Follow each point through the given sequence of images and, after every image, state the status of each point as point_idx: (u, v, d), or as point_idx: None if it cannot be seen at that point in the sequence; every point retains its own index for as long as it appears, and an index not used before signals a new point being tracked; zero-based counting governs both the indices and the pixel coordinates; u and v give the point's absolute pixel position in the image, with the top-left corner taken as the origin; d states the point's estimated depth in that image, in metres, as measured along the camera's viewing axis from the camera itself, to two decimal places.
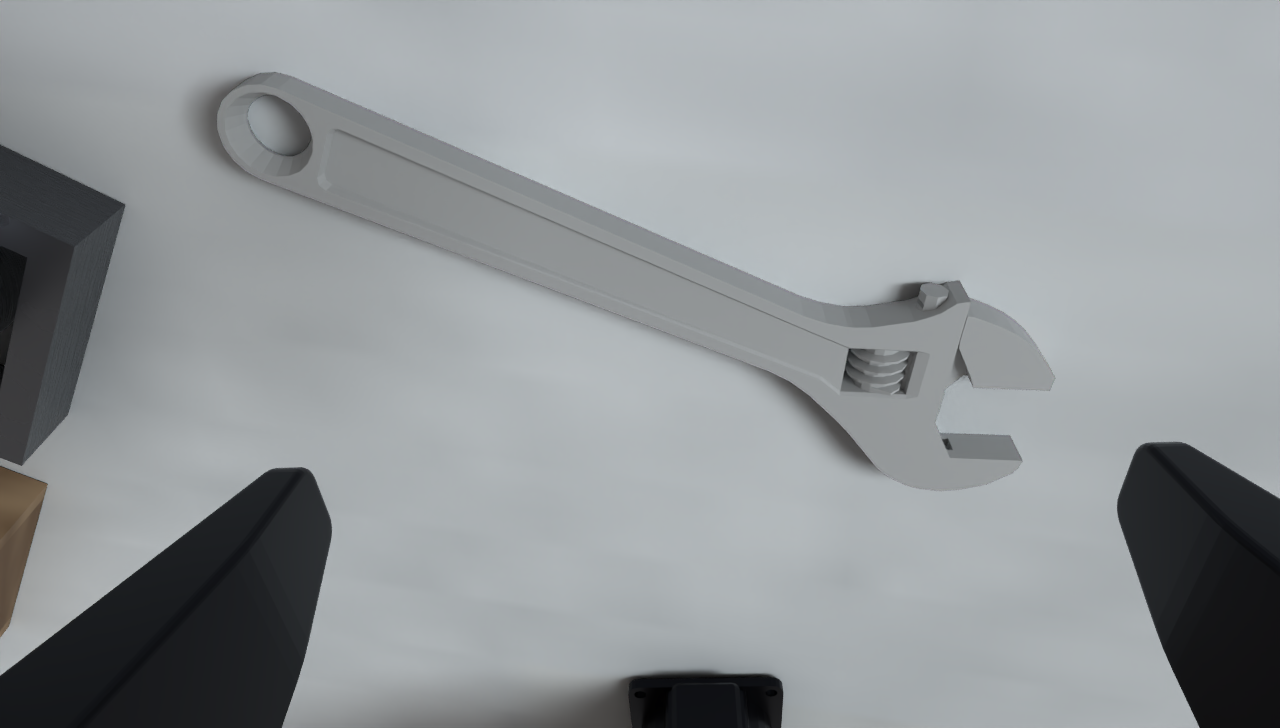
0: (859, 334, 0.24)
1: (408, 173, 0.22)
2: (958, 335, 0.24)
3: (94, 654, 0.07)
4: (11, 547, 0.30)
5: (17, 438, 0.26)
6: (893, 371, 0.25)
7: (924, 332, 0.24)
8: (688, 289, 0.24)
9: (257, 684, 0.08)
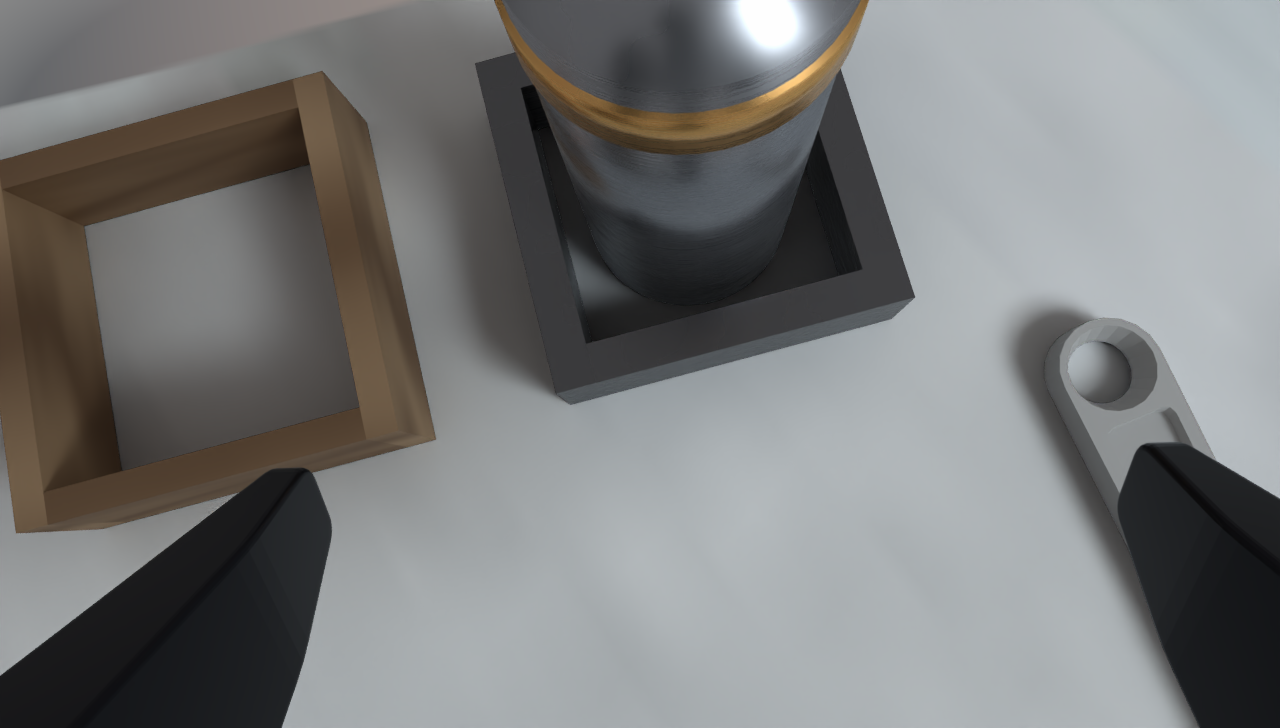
0: None
1: None
2: None
3: (94, 654, 0.07)
4: (350, 452, 0.22)
5: (598, 370, 0.21)
6: None
7: None
8: None
9: (257, 684, 0.08)
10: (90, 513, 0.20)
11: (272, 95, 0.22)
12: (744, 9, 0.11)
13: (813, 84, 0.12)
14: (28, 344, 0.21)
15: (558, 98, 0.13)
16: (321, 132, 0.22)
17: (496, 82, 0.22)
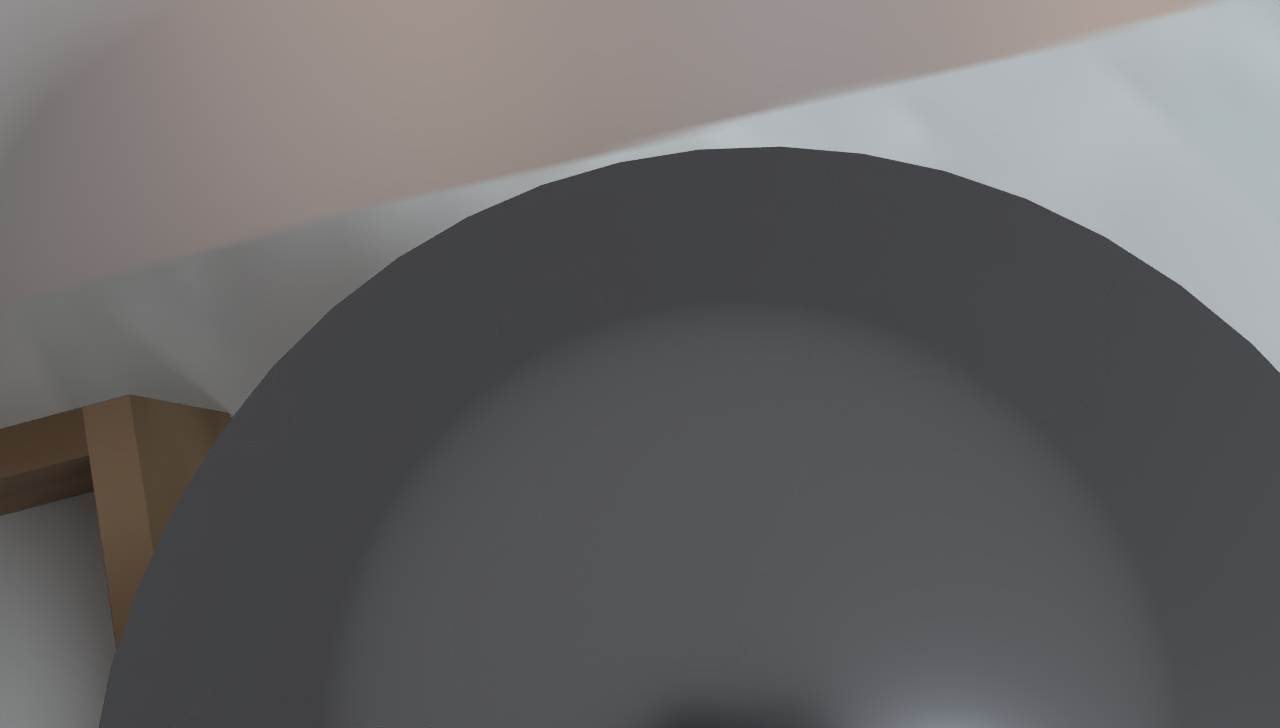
0: None
1: None
2: None
3: None
4: None
5: None
6: None
7: None
8: None
9: None
10: None
11: (50, 434, 0.14)
12: None
13: None
14: None
15: None
16: (123, 499, 0.13)
17: None
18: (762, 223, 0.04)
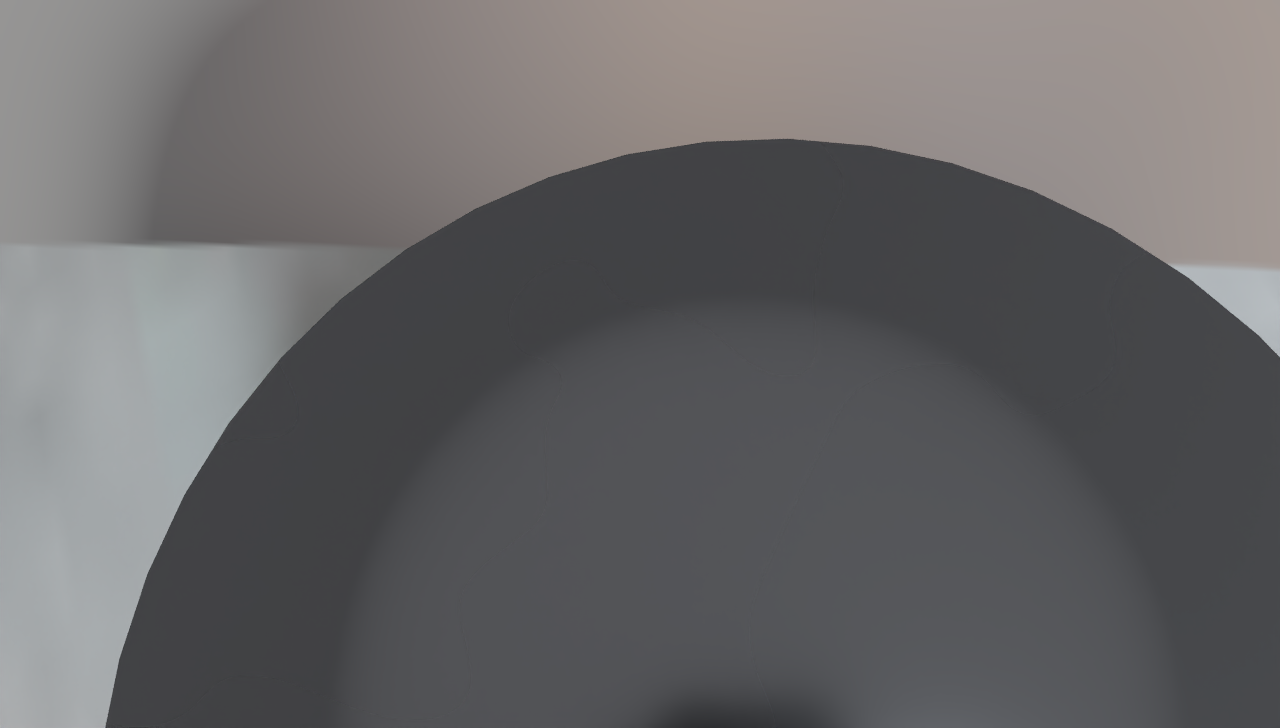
0: None
1: None
2: None
3: None
4: None
5: None
6: None
7: None
8: None
9: None
10: None
11: None
12: None
13: None
14: None
15: None
16: None
17: None
18: (769, 215, 0.04)
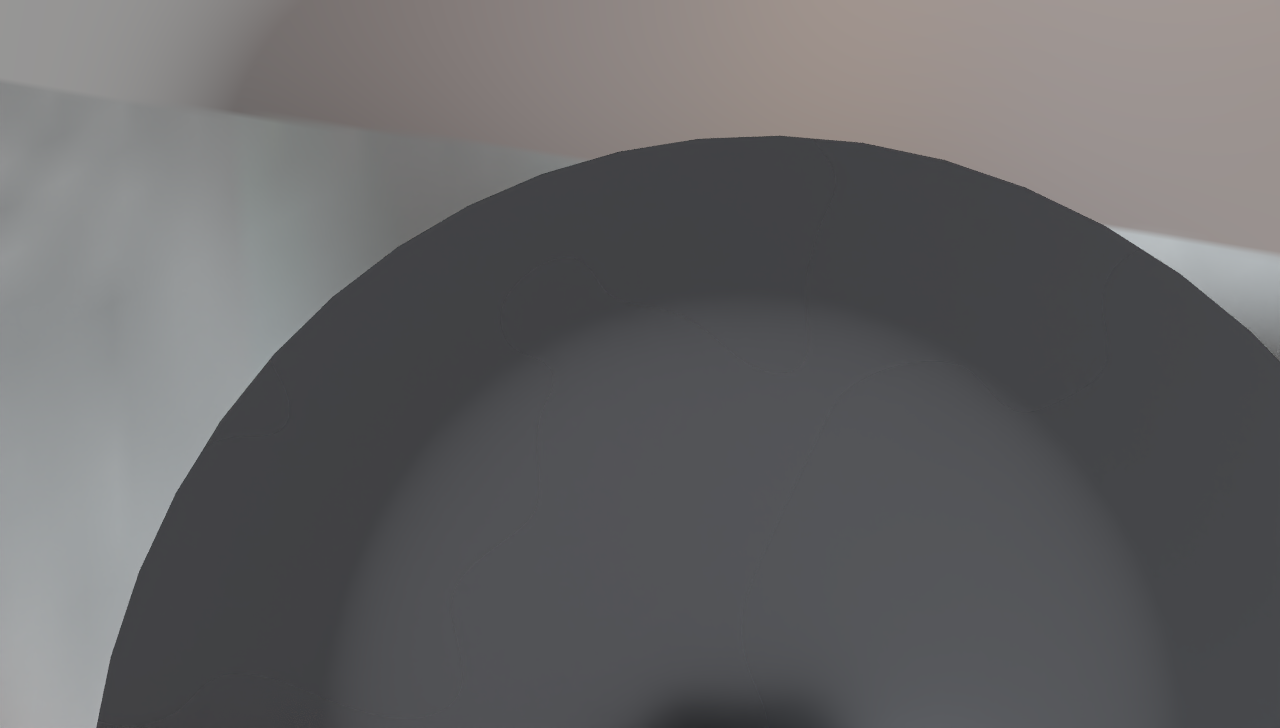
0: None
1: None
2: None
3: None
4: None
5: None
6: None
7: None
8: None
9: None
10: None
11: None
12: None
13: None
14: None
15: None
16: None
17: None
18: (761, 212, 0.04)
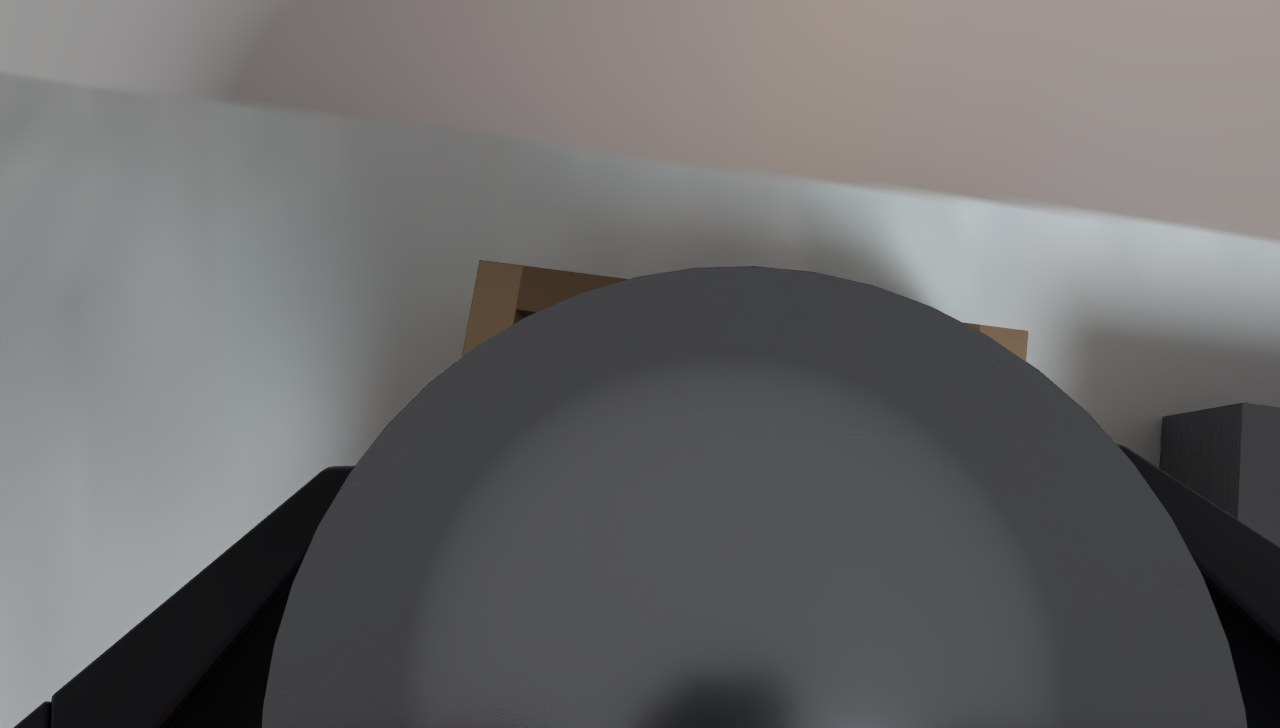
0: None
1: None
2: None
3: (170, 653, 0.07)
4: None
5: None
6: None
7: None
8: None
9: None
10: None
11: None
12: None
13: None
14: None
15: None
16: None
17: (1267, 445, 0.14)
18: (741, 323, 0.05)
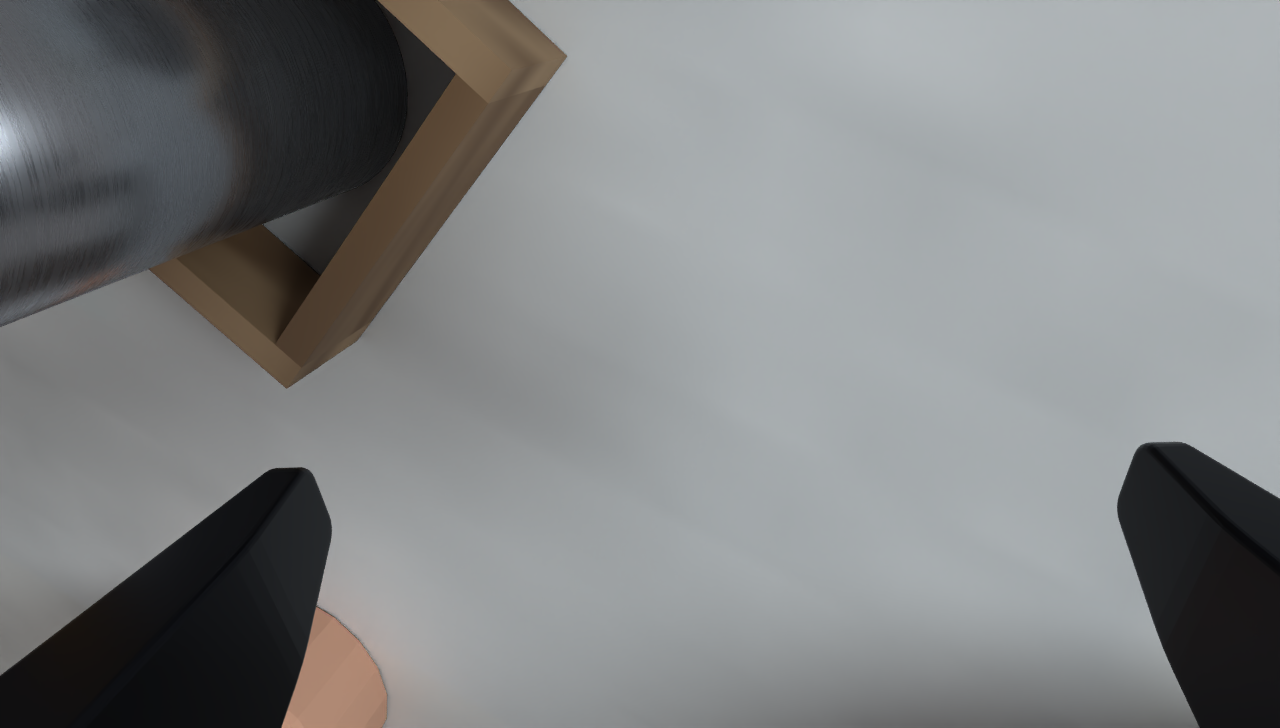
0: None
1: None
2: None
3: (94, 654, 0.07)
4: (491, 129, 0.17)
5: None
6: None
7: None
8: None
9: (257, 684, 0.08)
10: (322, 338, 0.19)
11: None
12: None
13: None
14: None
15: None
16: None
17: None
18: None
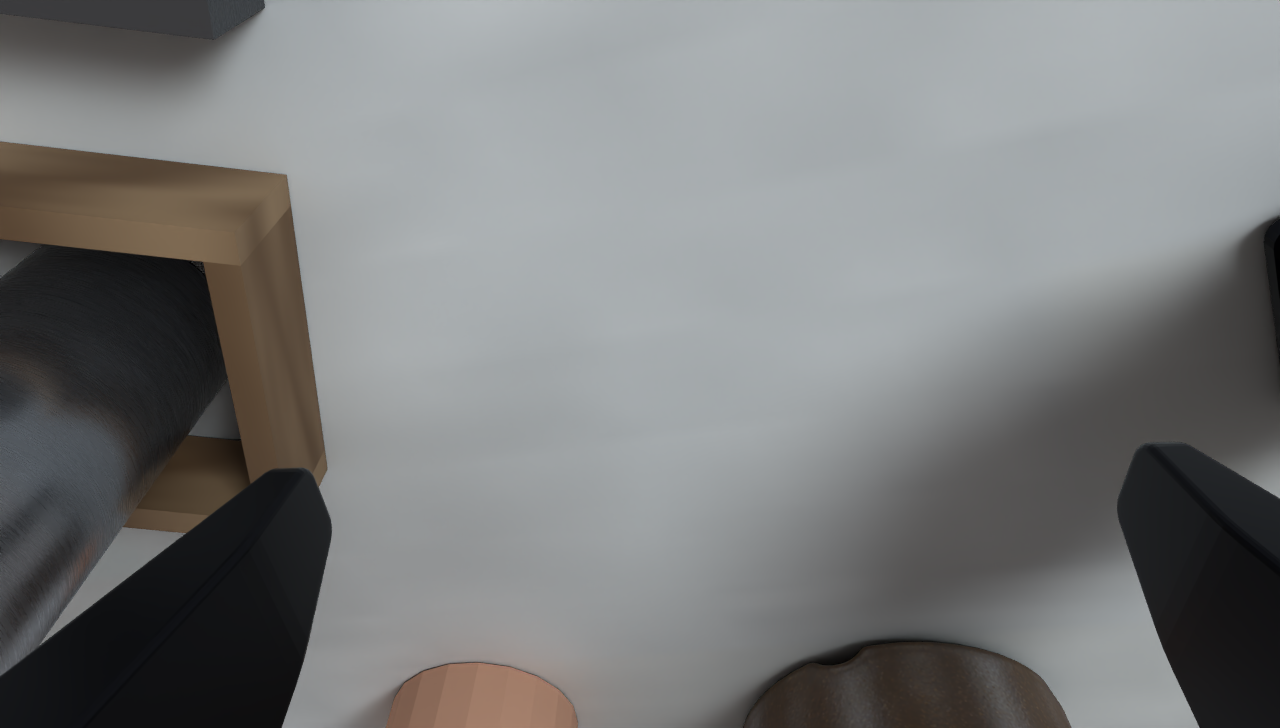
0: None
1: None
2: None
3: (94, 654, 0.07)
4: (270, 272, 0.20)
5: None
6: None
7: None
8: None
9: (257, 684, 0.08)
10: None
11: None
12: None
13: None
14: None
15: None
16: None
17: None
18: None
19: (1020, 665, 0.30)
